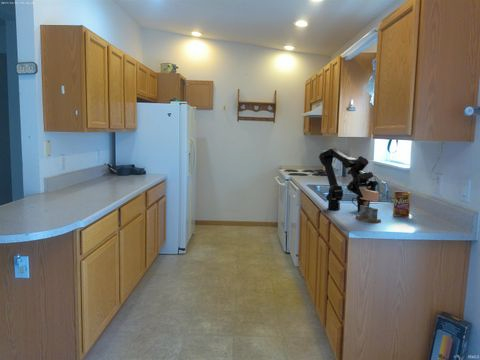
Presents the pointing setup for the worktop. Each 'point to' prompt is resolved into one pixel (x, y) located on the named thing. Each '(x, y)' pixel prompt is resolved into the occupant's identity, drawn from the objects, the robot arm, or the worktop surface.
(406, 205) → the candy box
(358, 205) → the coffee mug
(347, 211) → the worktop surface
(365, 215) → the ticket stand
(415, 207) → the worktop surface
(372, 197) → the tan wooden block
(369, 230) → the worktop surface
